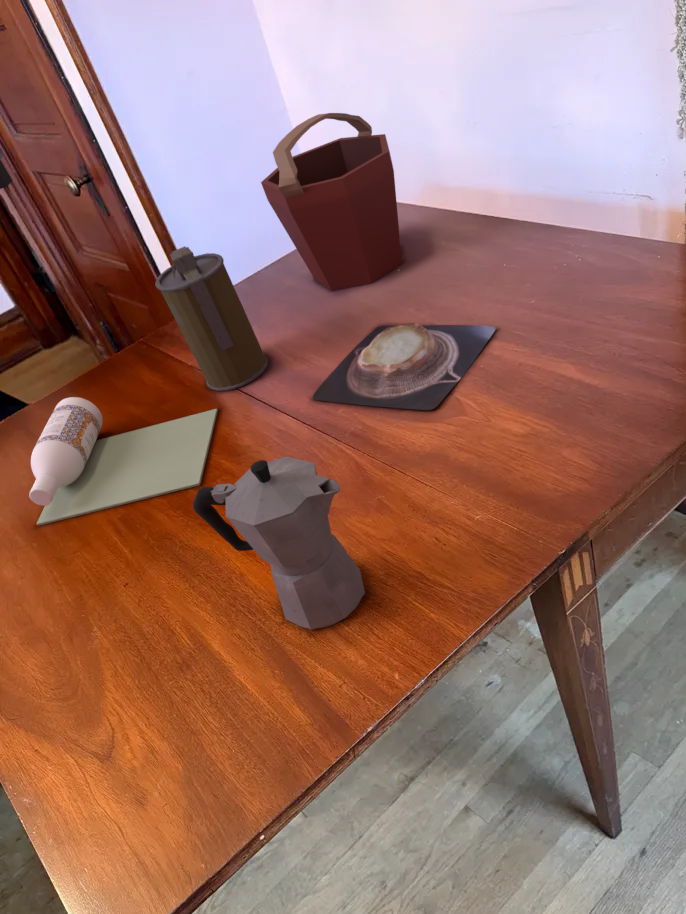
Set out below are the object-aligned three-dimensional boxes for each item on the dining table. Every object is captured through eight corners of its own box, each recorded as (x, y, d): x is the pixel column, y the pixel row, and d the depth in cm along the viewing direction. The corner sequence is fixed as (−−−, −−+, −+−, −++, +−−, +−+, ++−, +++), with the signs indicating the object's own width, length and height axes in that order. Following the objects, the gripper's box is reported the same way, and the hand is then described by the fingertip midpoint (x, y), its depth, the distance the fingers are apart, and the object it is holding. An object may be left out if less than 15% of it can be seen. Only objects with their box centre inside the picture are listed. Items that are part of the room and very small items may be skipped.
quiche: (498, 329, 108) (493, 304, 105) (434, 413, 97) (427, 387, 94) (379, 325, 118) (371, 302, 116) (309, 400, 107) (299, 377, 105)
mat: (37, 526, 102) (36, 524, 102) (73, 448, 115) (72, 446, 115) (200, 485, 99) (198, 483, 99) (218, 410, 112) (216, 408, 112)
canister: (201, 373, 123) (141, 257, 109) (259, 346, 124) (206, 229, 111) (214, 401, 115) (152, 279, 101) (276, 372, 116) (222, 249, 103)
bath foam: (107, 434, 117) (73, 518, 102) (61, 433, 116) (20, 516, 102) (99, 396, 112) (61, 478, 98) (51, 394, 112) (6, 476, 97)
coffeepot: (393, 561, 79) (339, 424, 67) (373, 631, 73) (310, 494, 61) (264, 565, 84) (192, 439, 72) (235, 632, 78) (151, 505, 66)
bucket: (344, 310, 125) (290, 155, 109) (272, 289, 140) (215, 149, 123) (444, 243, 134) (409, 90, 118) (367, 230, 149) (326, 92, 132)
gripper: (-53, -26, 96) (52, 164, 112) (-140, 6, 98) (-25, 189, 113) (-77, -19, 90) (37, 180, 106) (-170, 16, 92) (-44, 206, 108)
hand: (5, 185), depth 110 cm, fingers closed
